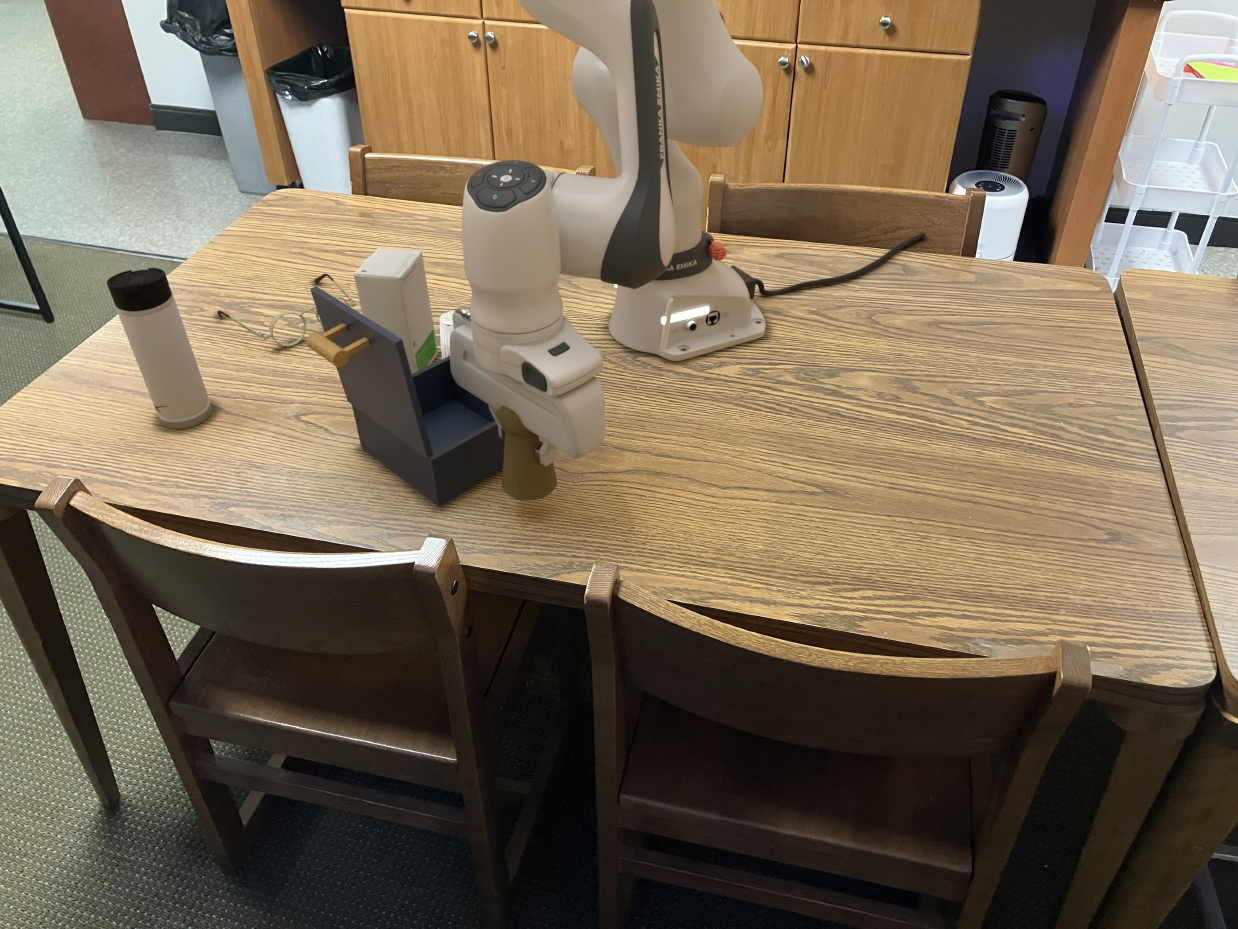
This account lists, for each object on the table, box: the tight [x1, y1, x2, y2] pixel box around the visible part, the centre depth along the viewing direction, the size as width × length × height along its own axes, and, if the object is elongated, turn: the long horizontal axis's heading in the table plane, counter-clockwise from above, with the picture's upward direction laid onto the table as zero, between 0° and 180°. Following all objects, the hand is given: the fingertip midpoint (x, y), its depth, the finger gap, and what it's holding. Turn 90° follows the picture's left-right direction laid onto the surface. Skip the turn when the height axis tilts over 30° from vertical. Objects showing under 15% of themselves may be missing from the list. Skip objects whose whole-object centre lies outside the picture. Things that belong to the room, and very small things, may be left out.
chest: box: [351, 355, 505, 508], centre depth 110 cm, size 14×15×7 cm
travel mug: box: [106, 267, 213, 430], centre depth 112 cm, size 6×7×20 cm
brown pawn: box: [499, 406, 558, 502], centre depth 98 cm, size 6×6×11 cm
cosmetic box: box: [353, 247, 439, 374], centre depth 122 cm, size 8×7×16 cm
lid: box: [305, 285, 433, 459], centre depth 98 cm, size 15×15×5 cm
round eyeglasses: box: [217, 273, 358, 347], centre depth 135 cm, size 17×15×5 cm
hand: (527, 449), depth 99 cm, fingers closed on brown pawn, 4 cm apart
